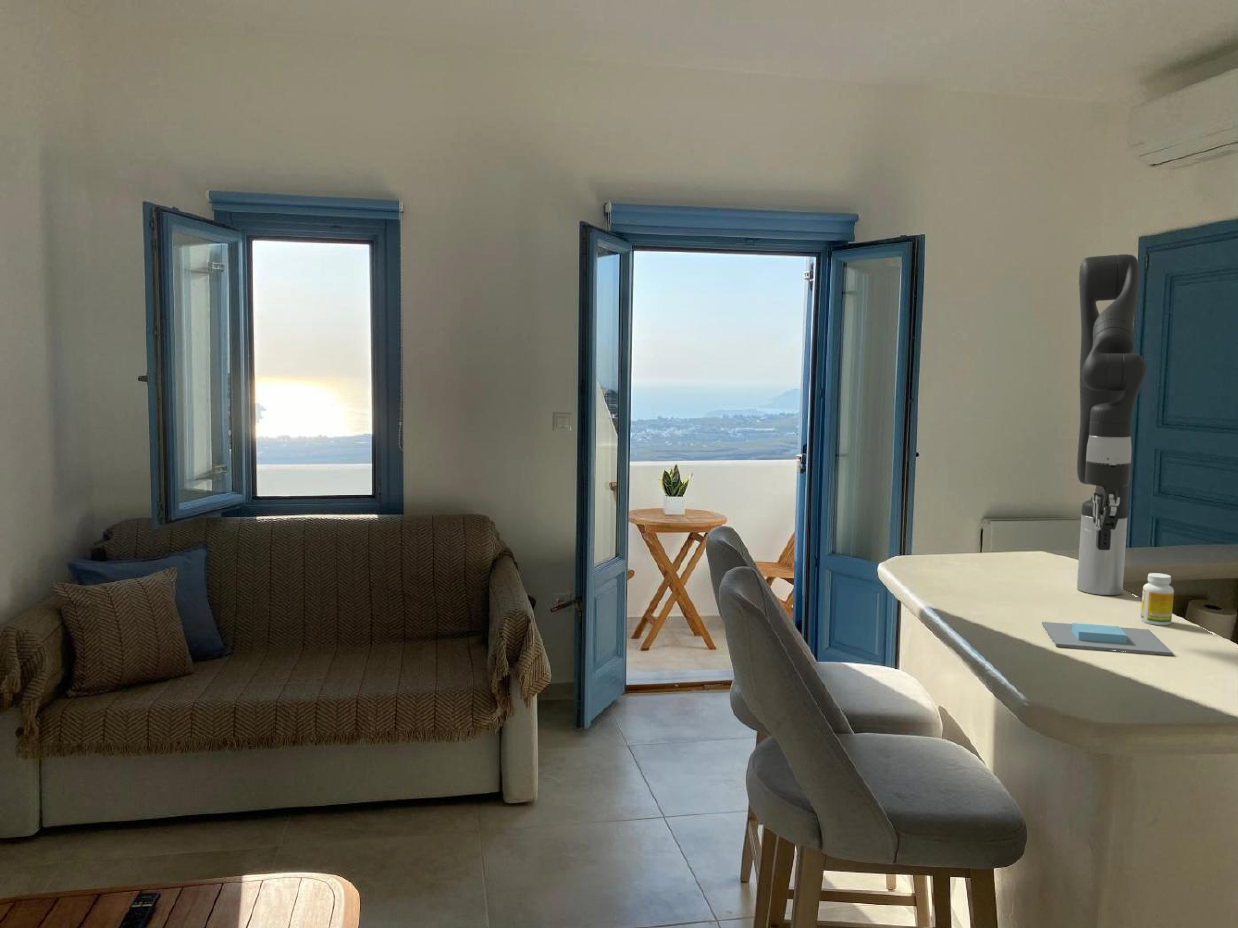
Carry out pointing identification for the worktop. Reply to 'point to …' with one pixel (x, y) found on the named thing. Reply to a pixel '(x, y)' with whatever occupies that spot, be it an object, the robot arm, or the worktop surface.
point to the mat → (1135, 642)
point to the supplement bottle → (1157, 600)
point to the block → (1099, 633)
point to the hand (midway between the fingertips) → (1102, 549)
